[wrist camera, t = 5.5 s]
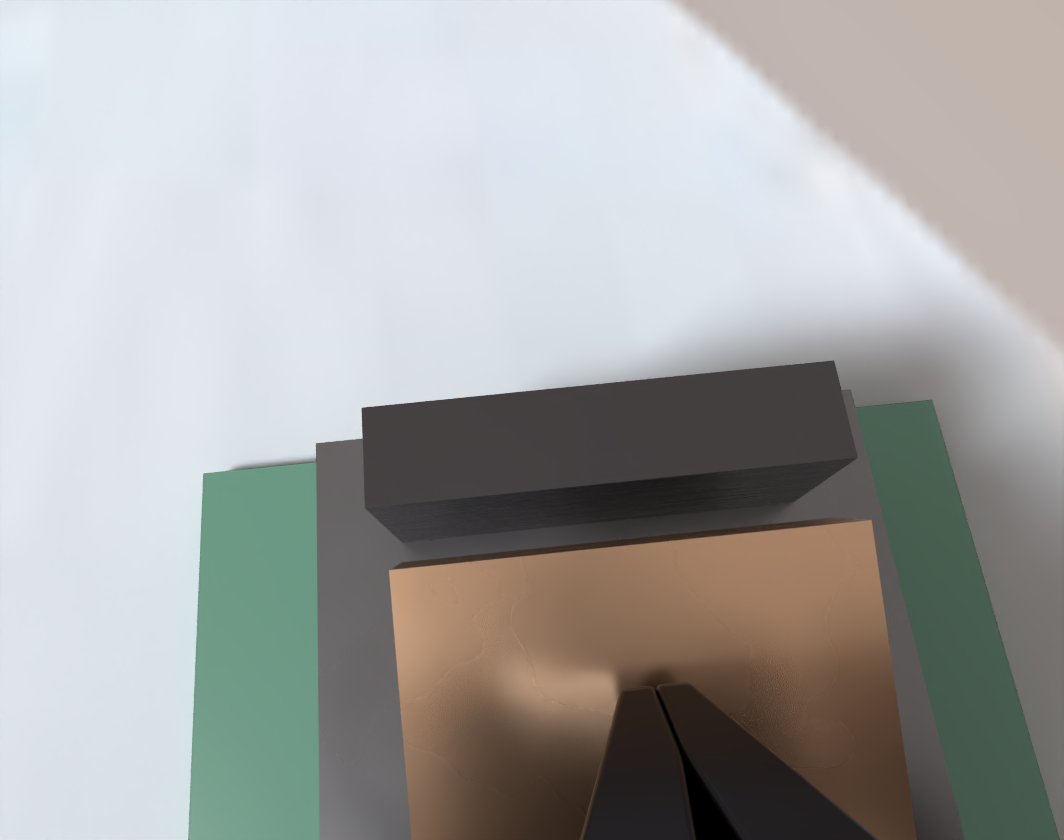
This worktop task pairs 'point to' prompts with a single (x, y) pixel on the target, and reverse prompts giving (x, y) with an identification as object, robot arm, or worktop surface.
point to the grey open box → (574, 532)
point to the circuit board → (292, 644)
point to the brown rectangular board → (642, 669)
